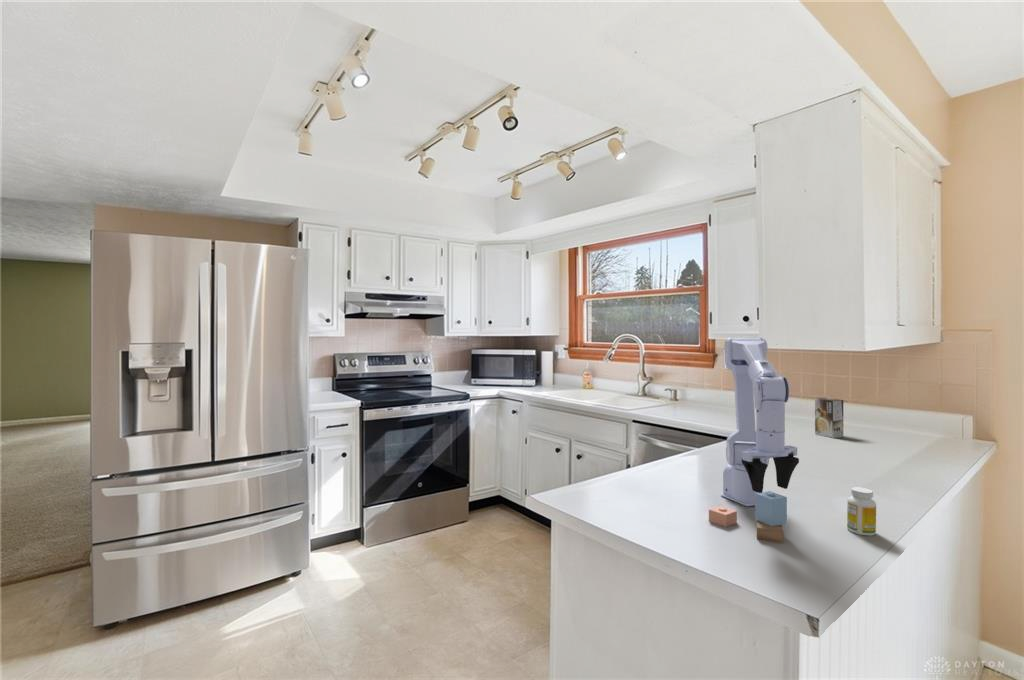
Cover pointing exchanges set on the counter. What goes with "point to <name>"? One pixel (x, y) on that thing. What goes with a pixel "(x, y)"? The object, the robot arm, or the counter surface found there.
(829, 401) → the coffee box
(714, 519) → the brick
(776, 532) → the base brick
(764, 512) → the blue brick
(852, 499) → the supplement bottle
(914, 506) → the counter surface
